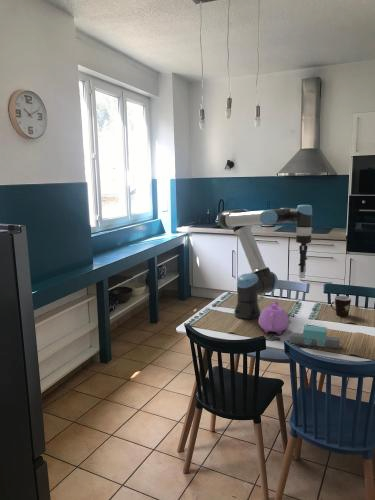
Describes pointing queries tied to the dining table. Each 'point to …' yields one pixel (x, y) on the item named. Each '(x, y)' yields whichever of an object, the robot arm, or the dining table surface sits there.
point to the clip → (314, 334)
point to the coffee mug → (342, 305)
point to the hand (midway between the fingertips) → (302, 274)
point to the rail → (315, 341)
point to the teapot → (274, 318)
